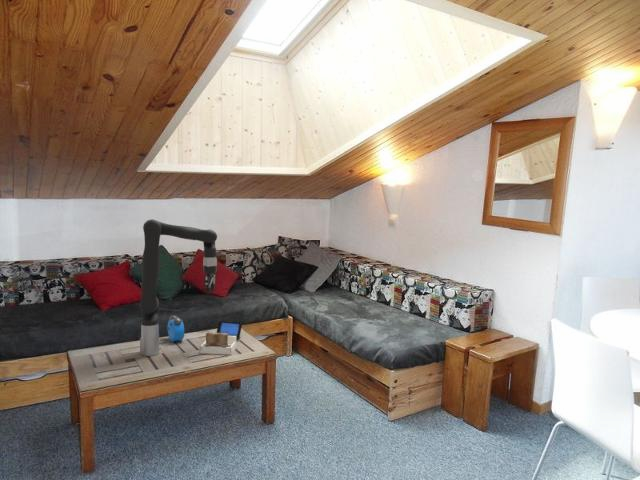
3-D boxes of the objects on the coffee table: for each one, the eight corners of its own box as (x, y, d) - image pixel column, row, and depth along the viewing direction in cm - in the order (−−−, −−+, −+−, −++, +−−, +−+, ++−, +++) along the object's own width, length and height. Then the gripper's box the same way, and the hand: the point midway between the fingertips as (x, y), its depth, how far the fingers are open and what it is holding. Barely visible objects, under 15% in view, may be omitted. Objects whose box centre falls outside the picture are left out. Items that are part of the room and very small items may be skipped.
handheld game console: (210, 341, 291) (210, 326, 290) (218, 335, 304) (218, 320, 303) (235, 343, 289) (235, 328, 288) (242, 336, 302) (242, 322, 301)
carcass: (199, 353, 270) (199, 341, 270) (206, 346, 282) (206, 334, 282) (231, 354, 269) (231, 342, 268) (236, 347, 281) (236, 335, 281)
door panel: (205, 350, 272) (205, 333, 271) (207, 349, 274) (207, 332, 273) (226, 351, 271) (226, 334, 270) (227, 350, 274) (227, 333, 272)
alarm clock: (184, 342, 287) (184, 318, 286) (174, 344, 284) (174, 320, 282) (177, 336, 298) (176, 313, 296) (167, 338, 294) (166, 314, 292)
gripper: (207, 262, 282) (207, 289, 284) (199, 266, 268) (199, 294, 270) (219, 262, 281) (219, 289, 283) (212, 266, 267) (212, 295, 269)
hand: (210, 292), depth 276 cm, fingers open, 8 cm apart
